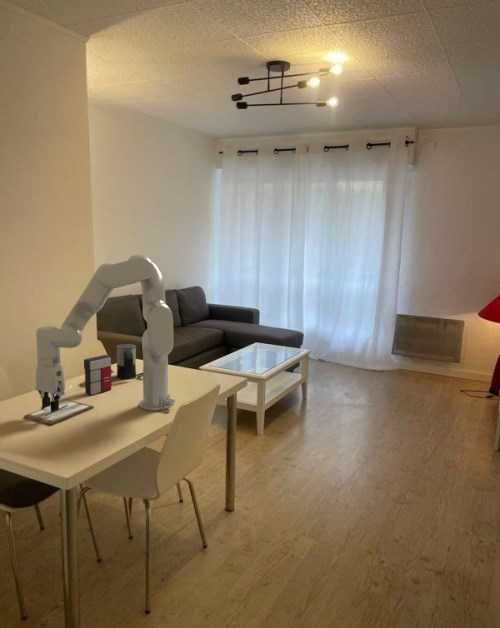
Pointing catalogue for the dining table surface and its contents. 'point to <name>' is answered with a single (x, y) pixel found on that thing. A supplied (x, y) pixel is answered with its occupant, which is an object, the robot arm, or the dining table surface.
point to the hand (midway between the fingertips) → (50, 409)
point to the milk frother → (126, 361)
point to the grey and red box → (97, 374)
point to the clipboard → (59, 413)
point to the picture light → (52, 411)
